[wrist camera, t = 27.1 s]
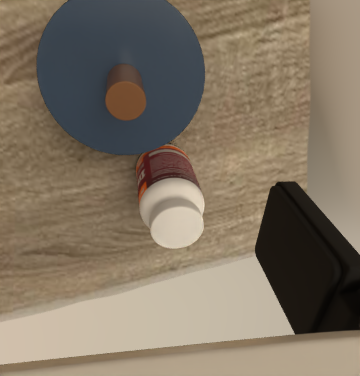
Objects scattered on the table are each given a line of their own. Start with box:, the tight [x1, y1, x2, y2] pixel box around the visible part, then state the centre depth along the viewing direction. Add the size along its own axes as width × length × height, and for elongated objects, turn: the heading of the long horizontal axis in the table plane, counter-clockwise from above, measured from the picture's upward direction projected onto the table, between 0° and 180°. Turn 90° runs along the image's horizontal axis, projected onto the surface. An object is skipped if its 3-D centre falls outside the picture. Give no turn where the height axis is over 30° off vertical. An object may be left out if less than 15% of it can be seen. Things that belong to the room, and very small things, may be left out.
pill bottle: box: [136, 144, 205, 249], centre depth 33 cm, size 6×6×11 cm
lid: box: [37, 0, 205, 155], centre depth 24 cm, size 13×13×6 cm
